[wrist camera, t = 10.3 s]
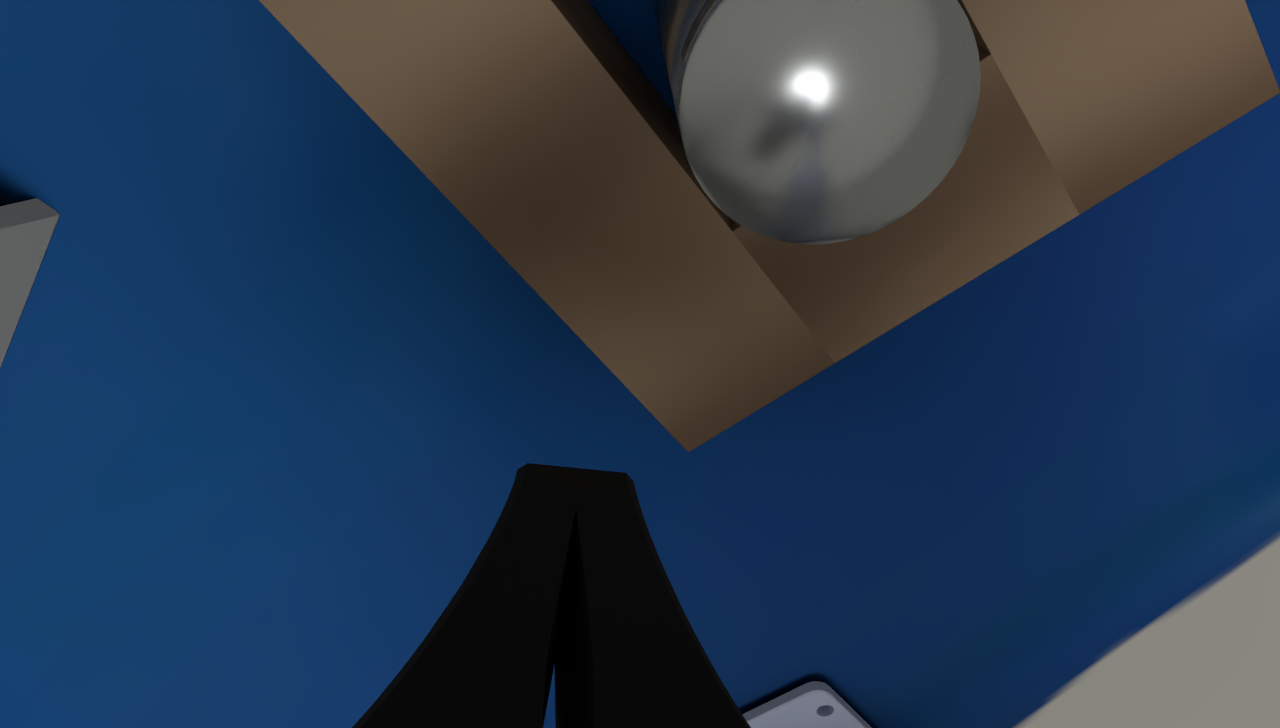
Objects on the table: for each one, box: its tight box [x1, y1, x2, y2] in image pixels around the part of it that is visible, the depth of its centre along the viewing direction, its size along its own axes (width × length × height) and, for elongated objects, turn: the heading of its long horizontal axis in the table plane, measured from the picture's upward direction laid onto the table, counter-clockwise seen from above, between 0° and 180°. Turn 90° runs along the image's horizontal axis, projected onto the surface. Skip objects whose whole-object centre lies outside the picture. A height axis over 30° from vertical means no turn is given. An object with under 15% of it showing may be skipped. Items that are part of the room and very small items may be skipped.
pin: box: [653, 0, 981, 245], centre depth 14 cm, size 4×4×7 cm
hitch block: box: [259, 0, 1280, 452], centre depth 16 cm, size 12×12×3 cm
